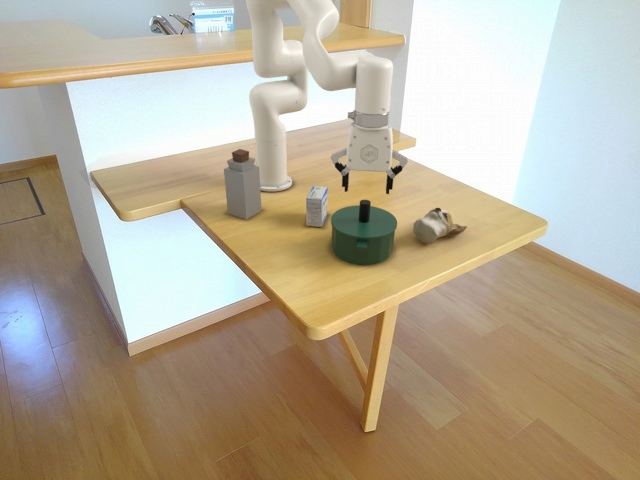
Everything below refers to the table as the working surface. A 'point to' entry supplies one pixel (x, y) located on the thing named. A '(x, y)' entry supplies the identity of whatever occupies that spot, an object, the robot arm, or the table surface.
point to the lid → (364, 221)
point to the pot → (362, 248)
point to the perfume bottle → (242, 185)
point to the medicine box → (316, 206)
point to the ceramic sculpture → (436, 226)
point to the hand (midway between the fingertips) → (366, 190)
